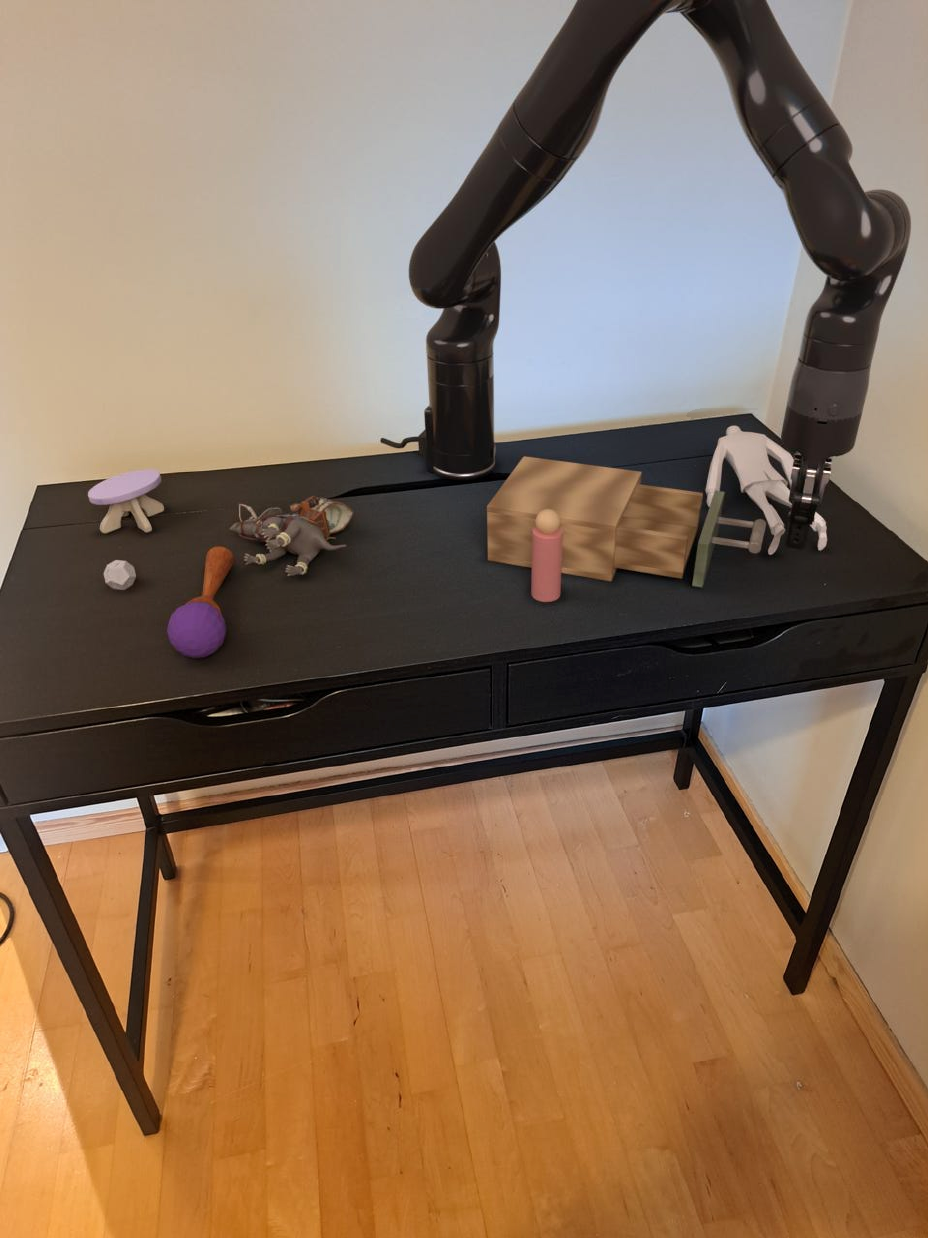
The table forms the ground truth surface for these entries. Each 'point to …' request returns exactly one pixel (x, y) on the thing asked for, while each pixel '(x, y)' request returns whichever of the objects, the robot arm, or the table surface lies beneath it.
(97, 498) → the toy table
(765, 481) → the male figurine
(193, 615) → the purple maraca
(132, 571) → the game die
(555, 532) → the pink game pawn
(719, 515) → the drawer
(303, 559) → the figurine
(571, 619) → the table surface
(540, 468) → the cabinet
